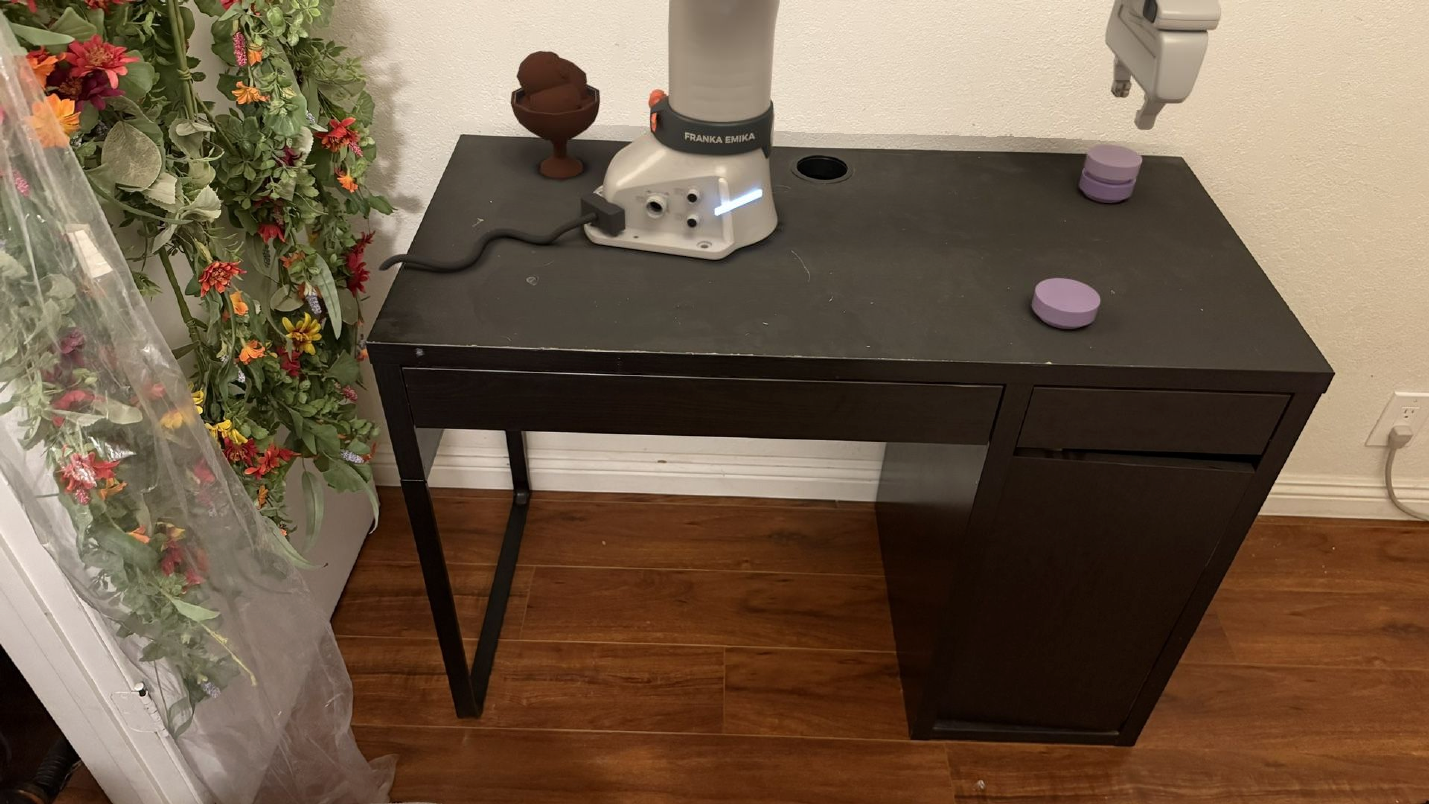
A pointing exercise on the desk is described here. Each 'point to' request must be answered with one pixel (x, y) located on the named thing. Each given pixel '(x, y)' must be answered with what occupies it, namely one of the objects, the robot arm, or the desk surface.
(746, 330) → the desk surface
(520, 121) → the ice cream bowl
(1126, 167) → the dish top
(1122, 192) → the dish bottom
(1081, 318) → the dish front
